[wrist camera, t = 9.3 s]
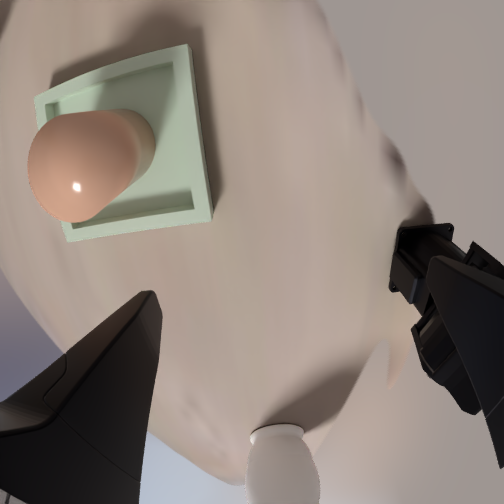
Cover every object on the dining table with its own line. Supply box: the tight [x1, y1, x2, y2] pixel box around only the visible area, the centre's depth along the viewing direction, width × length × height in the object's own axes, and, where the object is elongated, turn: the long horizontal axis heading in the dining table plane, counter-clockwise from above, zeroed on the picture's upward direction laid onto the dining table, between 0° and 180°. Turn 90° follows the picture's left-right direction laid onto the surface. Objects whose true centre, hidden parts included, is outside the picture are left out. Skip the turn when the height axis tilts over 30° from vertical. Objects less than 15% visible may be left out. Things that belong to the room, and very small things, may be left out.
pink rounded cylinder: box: [28, 109, 156, 223], centre depth 14 cm, size 6×6×7 cm
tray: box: [34, 44, 214, 243], centre depth 17 cm, size 12×12×2 cm
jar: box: [245, 424, 320, 504], centre depth 31 cm, size 11×10×15 cm
